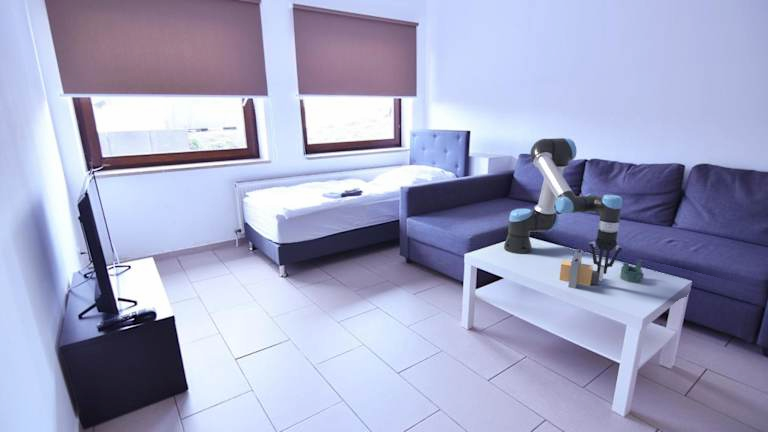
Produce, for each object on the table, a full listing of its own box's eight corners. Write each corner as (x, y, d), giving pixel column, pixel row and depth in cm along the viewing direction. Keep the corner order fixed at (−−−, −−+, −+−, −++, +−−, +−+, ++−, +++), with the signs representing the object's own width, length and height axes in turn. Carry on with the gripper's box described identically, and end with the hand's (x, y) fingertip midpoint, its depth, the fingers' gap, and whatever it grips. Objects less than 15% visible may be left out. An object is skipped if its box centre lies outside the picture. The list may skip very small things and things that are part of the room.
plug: (560, 275, 188) (562, 260, 186) (598, 282, 180) (600, 266, 178) (559, 279, 183) (561, 264, 181) (597, 287, 176) (600, 270, 173)
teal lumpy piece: (620, 281, 182) (623, 263, 180) (619, 273, 190) (622, 256, 188) (643, 284, 178) (646, 266, 176) (640, 277, 186) (644, 260, 184)
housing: (572, 272, 191) (576, 247, 188) (579, 274, 190) (583, 248, 186) (568, 286, 176) (571, 259, 173) (575, 288, 174) (579, 261, 171)
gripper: (590, 230, 171) (584, 279, 177) (625, 234, 165) (616, 285, 171) (591, 226, 177) (585, 273, 183) (625, 230, 171) (617, 279, 177)
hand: (600, 279), depth 177 cm, fingers closed
